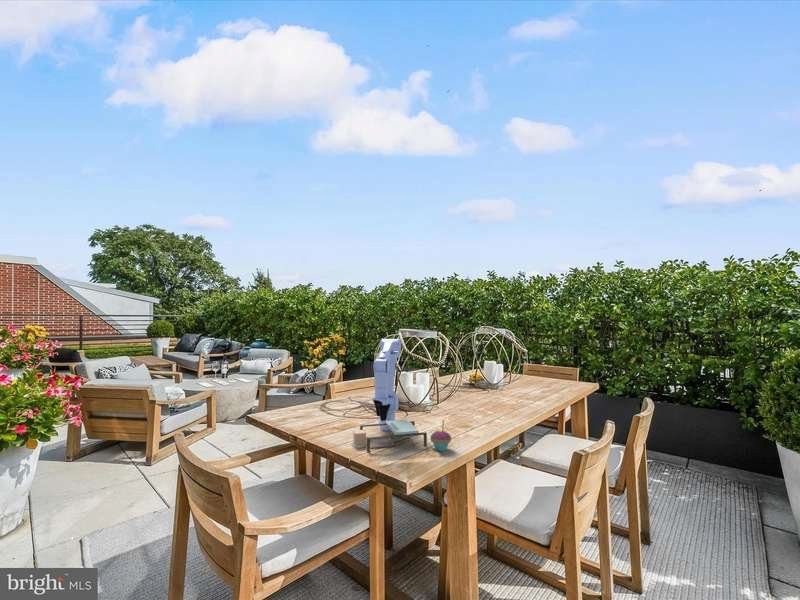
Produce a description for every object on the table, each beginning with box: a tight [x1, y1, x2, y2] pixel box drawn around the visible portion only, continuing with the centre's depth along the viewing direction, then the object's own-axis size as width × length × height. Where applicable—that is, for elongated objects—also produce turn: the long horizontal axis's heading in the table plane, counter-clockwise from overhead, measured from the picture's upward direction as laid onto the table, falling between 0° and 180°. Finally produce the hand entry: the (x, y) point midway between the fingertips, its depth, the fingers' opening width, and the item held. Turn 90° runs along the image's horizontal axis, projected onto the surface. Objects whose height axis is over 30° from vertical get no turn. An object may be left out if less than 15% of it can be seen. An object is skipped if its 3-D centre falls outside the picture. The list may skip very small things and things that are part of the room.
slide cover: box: [386, 418, 420, 435], centre depth 166 cm, size 17×10×1 cm, turn 15°
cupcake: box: [430, 418, 452, 452], centre depth 159 cm, size 9×8×12 cm
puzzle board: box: [350, 420, 428, 452], centre depth 165 cm, size 18×30×6 cm, turn 105°
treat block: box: [352, 429, 367, 446], centre depth 162 cm, size 4×4×5 cm
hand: (381, 418), depth 169 cm, fingers open, 7 cm apart
